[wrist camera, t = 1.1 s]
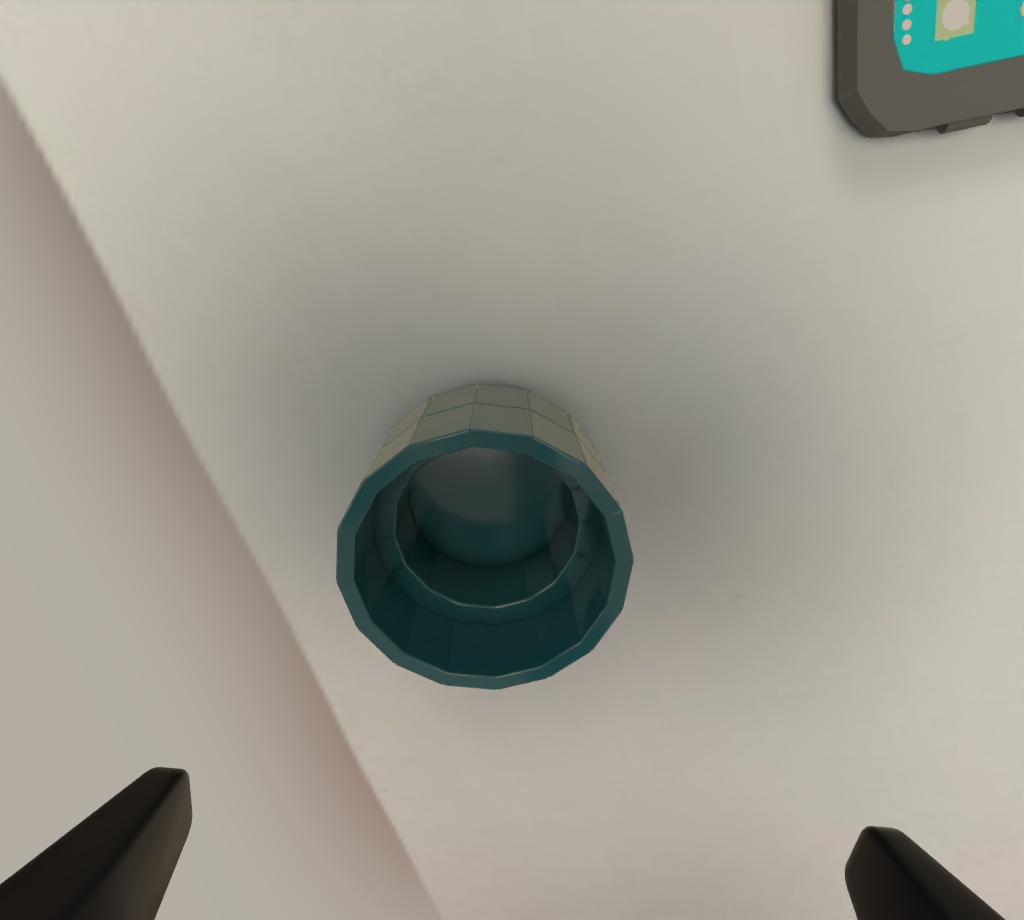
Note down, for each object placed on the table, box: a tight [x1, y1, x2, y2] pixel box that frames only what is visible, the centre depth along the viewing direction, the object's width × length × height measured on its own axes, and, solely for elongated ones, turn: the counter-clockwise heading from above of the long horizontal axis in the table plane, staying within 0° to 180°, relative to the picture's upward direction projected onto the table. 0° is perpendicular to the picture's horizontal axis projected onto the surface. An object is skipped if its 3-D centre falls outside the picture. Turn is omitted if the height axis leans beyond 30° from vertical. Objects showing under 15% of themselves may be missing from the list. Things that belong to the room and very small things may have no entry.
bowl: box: [336, 384, 633, 690], centre depth 15 cm, size 6×6×4 cm
